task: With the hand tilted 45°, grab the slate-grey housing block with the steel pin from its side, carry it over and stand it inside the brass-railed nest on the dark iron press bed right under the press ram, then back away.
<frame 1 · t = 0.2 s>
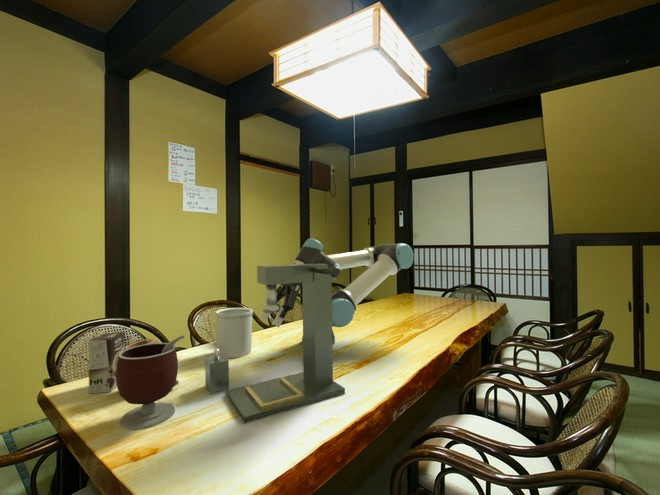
hand: (268, 322, 120), 15 cm above the table, tool tilted 35°, fingers open, 13 cm apart
mate gourd: (152, 416, 83), on the table
utensil holder: (234, 353, 133), on the table
housing: (217, 387, 100), on the table
coffee box: (107, 387, 101), on the table
press: (272, 397, 92), on the table
stone cup: (148, 389, 99), on the table
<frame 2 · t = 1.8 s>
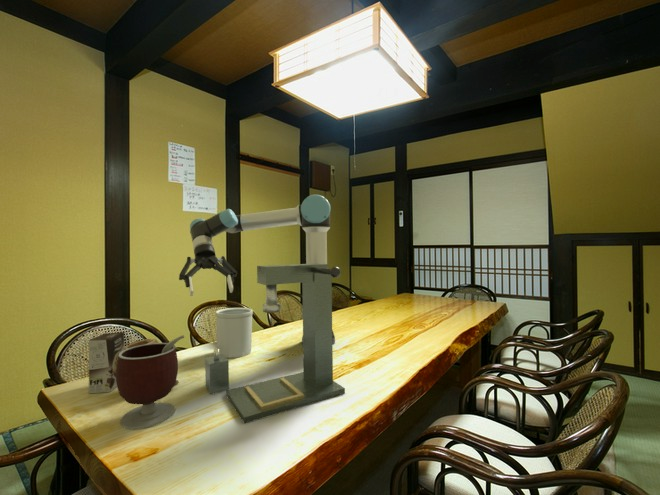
hand: (212, 292, 114), 28 cm above the table, tool tilted 45°, fingers open, 13 cm apart
nothing on the table moved.
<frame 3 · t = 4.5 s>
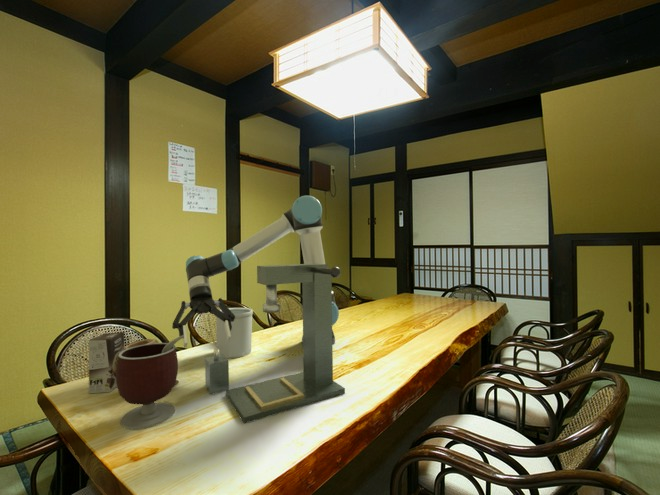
hand: (208, 341, 106), 12 cm above the table, tool tilted 45°, fingers open, 13 cm apart
nothing on the table moved.
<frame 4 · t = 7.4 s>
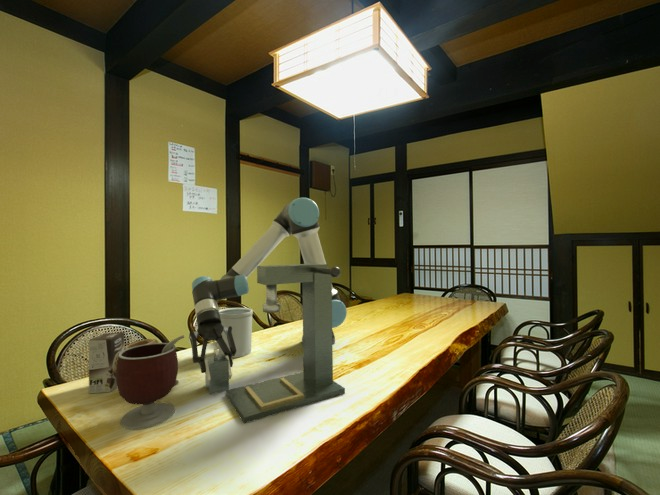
hand: (219, 379, 96), 4 cm above the table, tool tilted 45°, fingers closed on housing, 5 cm apart
housing: (217, 387, 100), on the table, touching gripper
everything else where it was.
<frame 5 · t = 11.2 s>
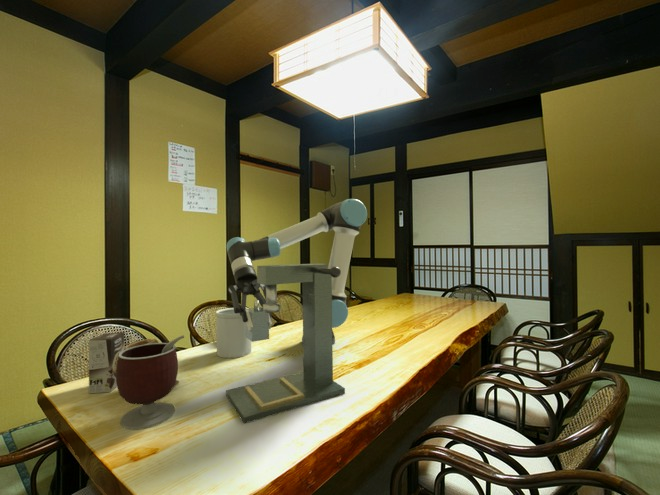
hand: (260, 328, 100), 18 cm above the table, tool tilted 45°, fingers closed on housing, 5 cm apart
housing: (257, 337, 103), point 14 cm above the table, touching gripper
everything else where it was.
when the fingers open (7 cm above the table, at t = 14.8 s): housing drops 1 cm, resting on press.
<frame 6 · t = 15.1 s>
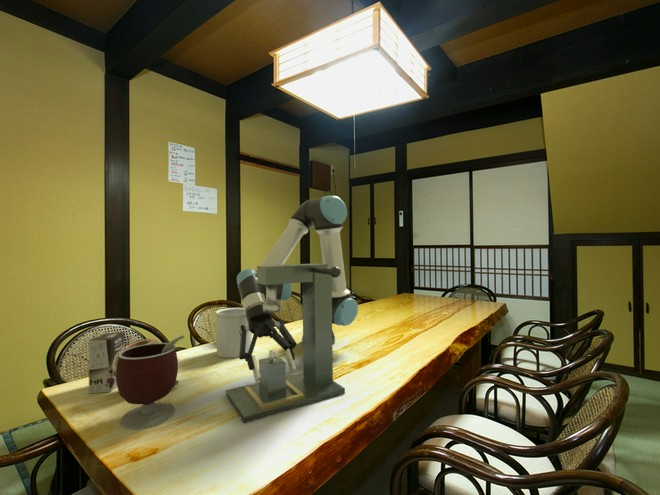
hand: (276, 375, 90), 7 cm above the table, tool tilted 45°, fingers open, 10 cm apart
housing: (272, 392, 92), point 1 cm above the table, touching press
everything else where it was.
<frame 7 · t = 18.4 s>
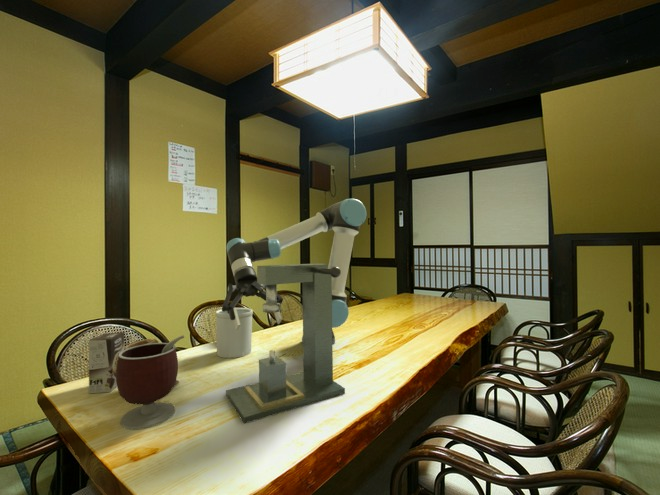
hand: (259, 324, 101), 19 cm above the table, tool tilted 45°, fingers open, 13 cm apart
nothing on the table moved.
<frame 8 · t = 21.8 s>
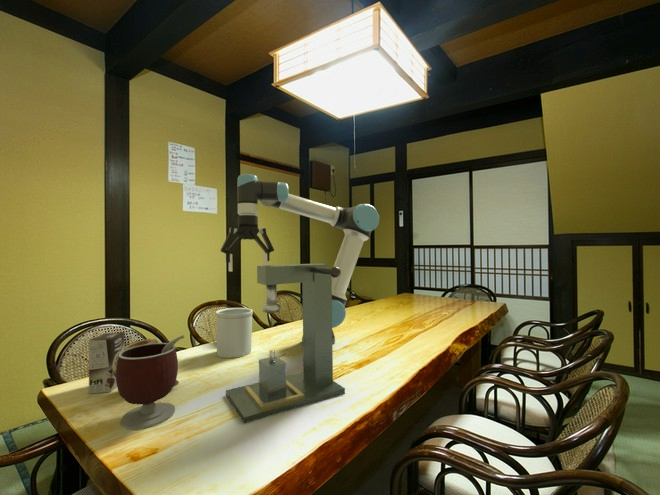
hand: (248, 270, 123), 35 cm above the table, tool pointing down, fingers open, 13 cm apart
nothing on the table moved.
at the end: housing 0.1 cm off-centre on the press, point 1.5 cm above the press's base; housing tilted 0°; the gripper is holding nothing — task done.
